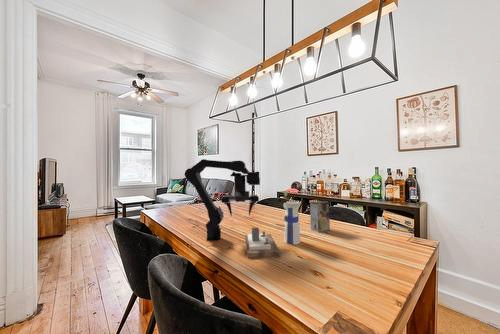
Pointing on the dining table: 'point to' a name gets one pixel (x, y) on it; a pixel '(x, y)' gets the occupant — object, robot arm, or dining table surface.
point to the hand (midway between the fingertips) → (240, 215)
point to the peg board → (266, 252)
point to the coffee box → (319, 216)
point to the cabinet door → (257, 240)
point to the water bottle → (291, 222)
